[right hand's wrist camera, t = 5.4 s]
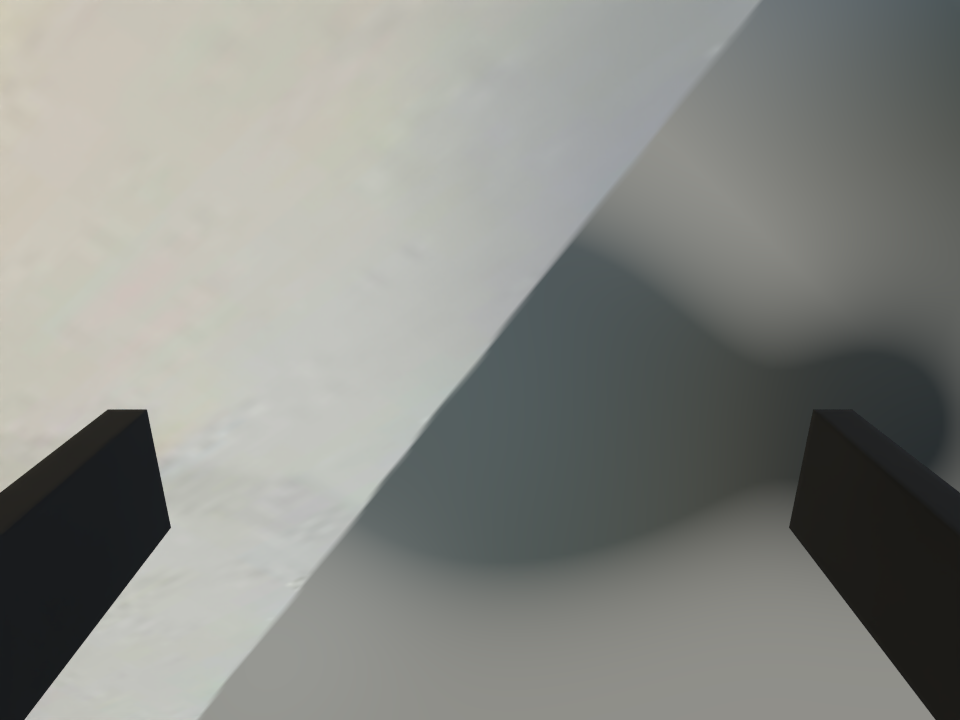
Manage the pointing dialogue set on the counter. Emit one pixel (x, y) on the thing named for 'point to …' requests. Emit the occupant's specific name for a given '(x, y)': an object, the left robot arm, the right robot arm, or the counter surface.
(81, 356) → the counter surface
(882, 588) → the right robot arm
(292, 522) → the counter surface
